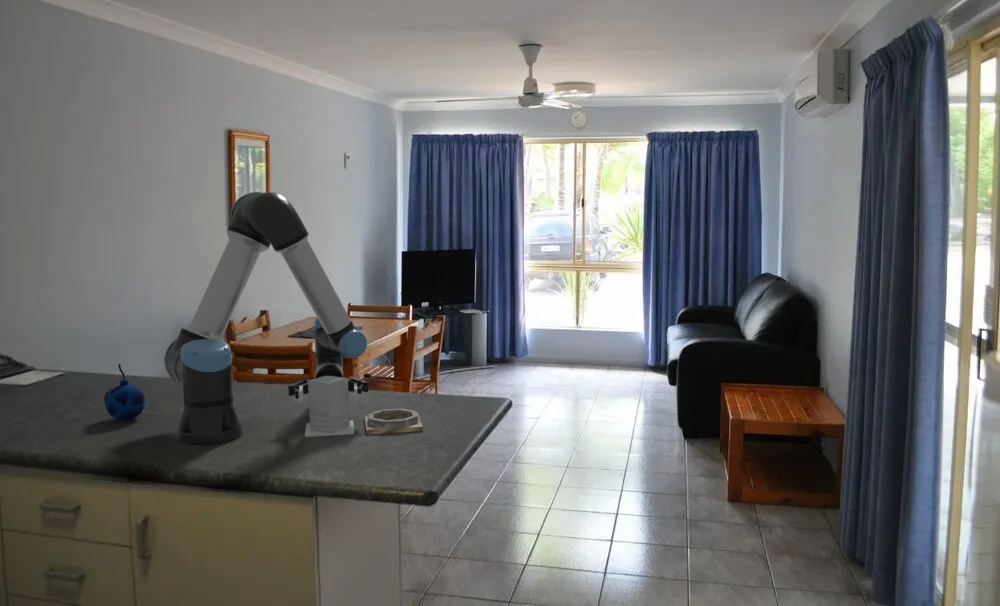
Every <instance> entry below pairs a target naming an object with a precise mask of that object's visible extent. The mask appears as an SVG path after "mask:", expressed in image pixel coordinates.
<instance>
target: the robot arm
mask: <svg viewBox="0 0 1000 606" xmlns="http://www.w3.org/2000/svg"><path fill="white" fill-rule="evenodd" d="M229 215H230V216H229V217H230V222H229V225H228V227H227V229H226V231H225V232H226V235H227V237H228V241H227V242H226V243H227V244H226V245H225V248H224V250H223V252H222V254H221V255H220V258H219V261H218V263H217V265H216V268H215V270H214V272H213V274H212V276H211V279H210V281H209V283H208V285H207V287H206V289H205V291H204V293H203V296H202V298H201V300H200V302H199V305H198V306H197V309H196V311H195V313H194V316H193V318H192V320H191V322H190V323H188V324H186V325H183V326H182V327H181V328H180V331H179V334H178V336H177V337H176V339H175V340H174V341H172V342H171V343H170V344H169V345H168V347H167V348H166V350H165V352H164V356H163V364H164V368H165V370H166V372H167V374H168V375H169V376H170V378H171V379H173V380H174V381H175V382H177V383H179V384H181V385H182V391H183V392H182V393H183V411H182V415H181V418H180V421H179V426H178V428H177V435H178V441H180V442H181V443H184V444H190V445H210V444H217V443H223V442H229V441H233V440H234V439H237V438H240V436H241V437H242V435H243V423H242V420H241V419H240V416H239V413H238V411H237V409H236V406H235V403H234V402H235V401H234V400H235V399H234V384H233V383H234V382H233V381H234V379H233V366H232V365H233V363H232V362H233V354H232V352H231V351H232V348H231V347H230V344H228V343H227V342H225V339H224V334H225V332H226V330H227V327H228V325H229V322H230V321H231V318H232V316H233V314H234V312H235V309H236V307H237V305H238V304H239V301H240V298H241V296H242V294H243V291H244V290H245V287H246V286H247V283H248V282H249V278H250V277H251V274H252V272H253V269H254V267H255V265H256V263H257V261H258V258H259V257H260V254H261V253H264V252H266V251H268V250H269V248H270V246H272V248H273V250H274V252H276V253H280V254H281V256H282V258H283V260H284V261H285V263H286V265H287V266H288V268H289V270H290V272H291V273H292V276H293V278H294V279H295V281H296V282H297V285H298V286H299V288H300V289H301V292H302V293H303V296H304V297H305V298H306V300H307V302H308V304H309V305H310V307H311V309H312V311H313V312H314V314H315V316H316V318H315V320H314V329H313V331H314V344H315V348H314V349H315V376H314V377H315V378H314V379H316V378H320V377H324V376H334V377H343V378H344V364H343V363H344V361H343V360H344V358H351V359H357V358H359V357H361V356H362V355H363V354H364V353H366V350H367V348H368V340H367V337H366V335H365V333H363V332H361V331H360V330H358V329H357V328H356V327H355V325H354V323H353V321H352V320H351V317H350V316H349V314H348V312H347V311H346V309H345V307H344V305H343V303H342V301H341V298H340V297H339V296H338V293H337V292H336V290H335V289H334V286H333V284H332V282H331V281H330V278H329V276H328V275H327V273H326V272H325V270H324V268H323V266H322V264H321V263H320V260H319V258H318V256H317V254H316V253H315V251H314V249H313V247H312V246H311V244H310V242H309V240H308V238H309V232H308V230H307V228H306V226H305V225H304V223H303V221H302V219H301V217H300V215H299V213H298V212H297V210H296V209H295V207H294V205H293V204H292V203H291V202H290V201H289V200H288V198H286V197H284V196H283V195H282V194H279V193H276V192H272V191H266V192H260V191H259V192H258V191H255V192H254V191H253V192H252V191H251V192H248V193H246V194H244V195H242V196H240V197H238V198H237V199H236V201H234V203H233V205H232V207H231V209H230V214H229ZM343 357H344V358H343ZM309 380H310V379H308V378H307V377H305V378H302V379H300V381H297V382H294V383H292V384H290V385H288V388H287V390H288V396H289V397H292V396H294V397H295V399H296V400H298V403H303V399H304V395H307V394H309V393H308V381H309ZM348 392H353V394H354V395H353V396H354V397H353V398H354V400H358V398H359V395H361V394H362V393H363V392H364V393H368V392H369V381H366V380H363V379H360V378H357V377H355V375H351V376H350V377H348Z"/></svg>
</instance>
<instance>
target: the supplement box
mask: <svg viewBox="0 0 1000 606" xmlns="http://www.w3.org/2000/svg"><path fill="white" fill-rule="evenodd" d="M348 379H349V377H344V376H343V377H334V376H324V377H320V378H316V379H315V378H313V379H308V380H309V381H308V393H307V394H308V410H309V423H310V429H315V430H320V431H326V432H333V431H336V430H339V429H343V428H345V427H348V426H350V421H351V420H350V403H349V402H350V400H349V396H350V395H349V391H348Z"/></svg>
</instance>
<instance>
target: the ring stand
mask: <svg viewBox="0 0 1000 606" xmlns="http://www.w3.org/2000/svg"><path fill="white" fill-rule="evenodd" d="M364 423H365V424H364V427H365V431H366V435H379V434H382V435H383V434H400V433H413V432H415V433H417V432H424V429H423V428H424V426H423V424H422V421H421V417H420V415H419V413H418V412H417V410H412V409H404V408H388V409H387V408H386V409H380V410H376V411H373V412H370V413H368V415H364Z"/></svg>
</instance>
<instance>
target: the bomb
mask: <svg viewBox="0 0 1000 606" xmlns="http://www.w3.org/2000/svg"><path fill="white" fill-rule="evenodd" d="M118 370H119V372H120V373H121V375H122V379H121V380H120V381H119V384H118V385H116V386H114V387H112V388H110V389H109V390H107V392H106V393H105V394H104V399H103V401H104V404H105V409H106V412H107V413H108V415H109V416H111V418H113V419H114V420H118V421H122V422H126V421H132V420H134V419H136V418H138V416H140V415H141V414H142V413H143V411H144V409H145V406H146V396H145V395H144V394H145V393H144V392H143V391H142V389H140V388H139V386H136V385H134V384H132V383H129V380H128V379H126V377H125V376H126V375H125V372H124V371H123V370H122V366H121V364H120V363H118Z"/></svg>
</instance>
